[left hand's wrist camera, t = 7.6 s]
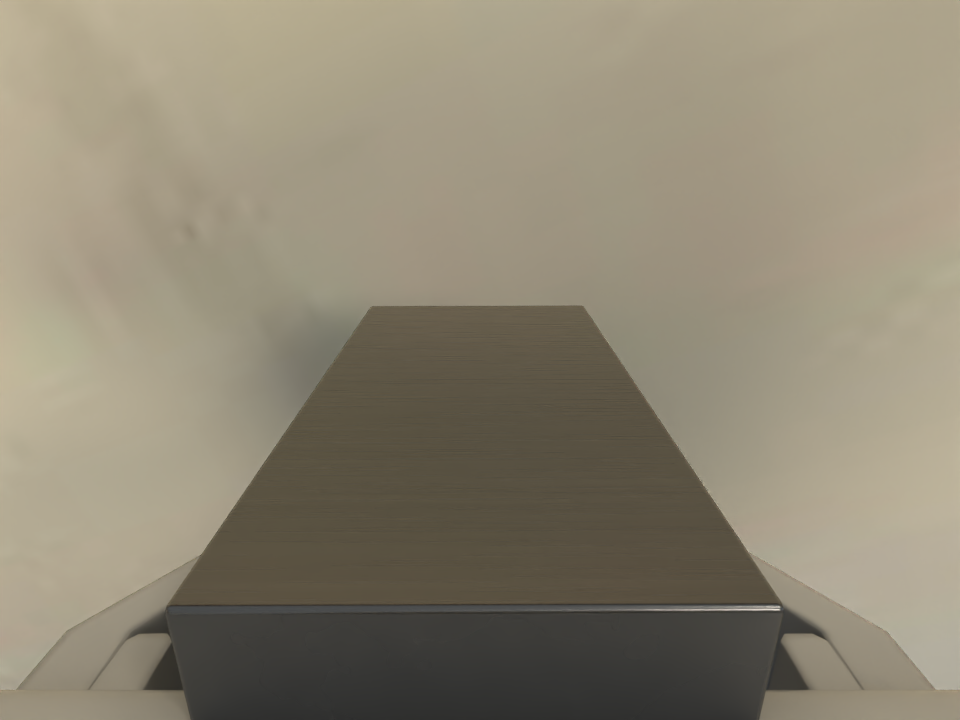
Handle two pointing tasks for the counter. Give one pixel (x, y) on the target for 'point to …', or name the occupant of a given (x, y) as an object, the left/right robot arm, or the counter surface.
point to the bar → (475, 544)
